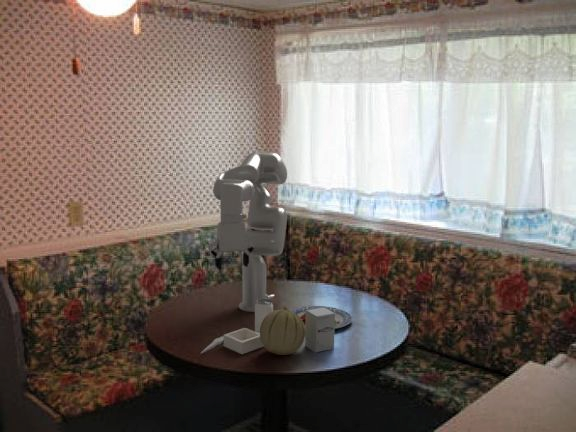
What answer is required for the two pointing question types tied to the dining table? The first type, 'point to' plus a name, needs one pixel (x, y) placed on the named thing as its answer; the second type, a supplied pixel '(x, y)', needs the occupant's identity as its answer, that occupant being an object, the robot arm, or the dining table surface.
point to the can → (262, 312)
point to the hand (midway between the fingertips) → (232, 267)
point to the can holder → (243, 340)
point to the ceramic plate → (340, 315)
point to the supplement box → (319, 329)
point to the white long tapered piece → (214, 344)
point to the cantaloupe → (282, 332)
